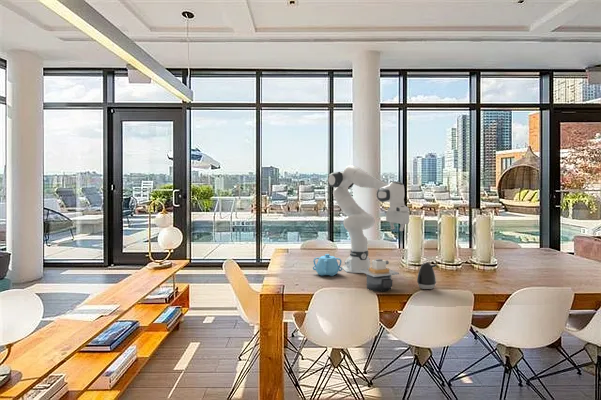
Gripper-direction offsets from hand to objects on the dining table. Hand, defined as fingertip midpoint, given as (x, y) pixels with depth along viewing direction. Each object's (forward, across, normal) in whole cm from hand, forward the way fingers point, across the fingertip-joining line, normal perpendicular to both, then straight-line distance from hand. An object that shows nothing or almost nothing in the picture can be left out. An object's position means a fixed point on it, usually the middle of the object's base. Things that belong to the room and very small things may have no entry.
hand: (396, 230), depth 265 cm
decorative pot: (+31, -30, -34) cm, 55 cm away
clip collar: (+21, +14, -21) cm, 33 cm away
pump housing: (+21, +14, -20) cm, 32 cm away
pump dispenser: (+31, +26, +3) cm, 40 cm away
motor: (+31, +14, -21) cm, 40 cm away
